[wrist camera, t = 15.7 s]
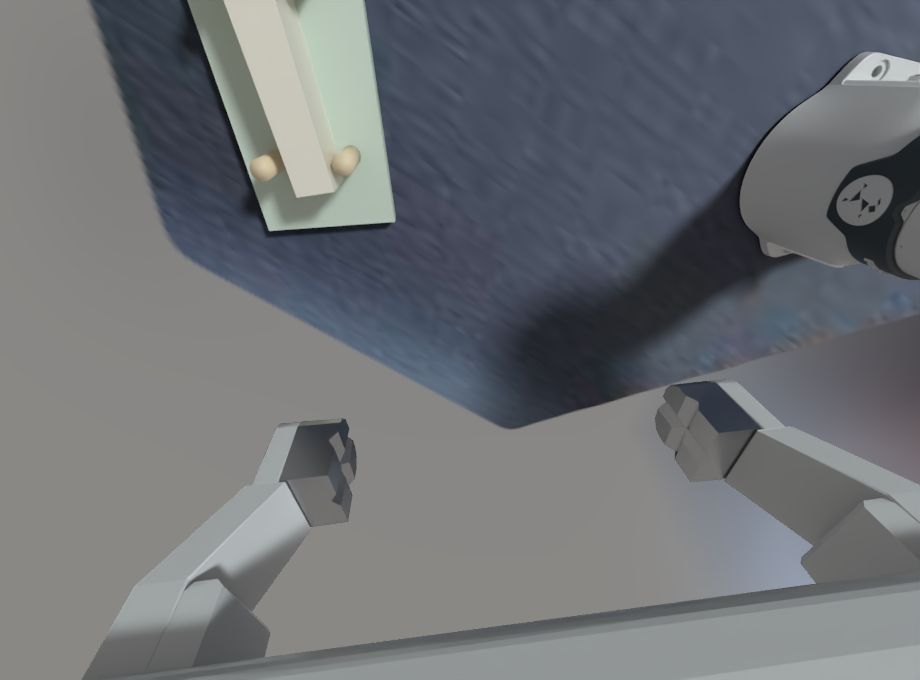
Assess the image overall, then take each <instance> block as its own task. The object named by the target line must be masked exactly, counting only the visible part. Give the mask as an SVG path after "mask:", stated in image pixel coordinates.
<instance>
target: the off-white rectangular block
mask: <svg viewBox="0 0 920 680" xmlns="http://www.w3.org/2000/svg"><path fill="white" fill-rule="evenodd" d="M224 3H225V6H226V8H227V11H228V14H229V16H230V19H231V22H232V25H233V27H234V30H235V33H236V35H237V38H238V41H239V43H240V46H241V49H242V52H243V54H244V57H245V60H246V62H247V65H248V68H249V70H250V73H251V76H252V78H253V81H254V84H255V87H256V89H257V92H258V95H259V97H260V100H261V103H262V105H263V108H264V111H265V114H266V116H267V119H268V122H269V124H270V127H271V130H272V132H273V135H274V138H275V140H276V143H277V146H278V149H279V151H280V154H281V157H282V159H283V162H284V165H285V167H286V170H287V173H288V176H289V178H290V181H291V184H292V186H293V189H294V192H295V194H296V197H297V198H298V197H305V196H312V195H318V194H325V193H332V192H335V191H336V189H337V188H338V187H339V185H340V184H341V183H342V181H343V180H344V179H345V177H344V176H340V175H338V174H337V173H336V172H335V171H334V169H333V166H332V161H333V158H334V157H335V156H336V155H337V154H338V153H337V149H336V146H335V143H334V139H333V136H332V132H331V129H330V125H329V122H328V118H327V115H326V111H325V108H324V104H323V101H322V97H321V94H320V90H319V87H318V83H317V80H316V76H315V73H314V69H313V66H312V62H311V59H310V55H309V52H308V48H307V45H306V41H305V38H304V34H303V31H302V27H301V24H300V20H299V17H298V14H297V10H296V7H295V3H294V0H224Z"/></svg>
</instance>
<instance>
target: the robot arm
mask: <svg viewBox="0 0 920 680" xmlns="http://www.w3.org/2000/svg"><path fill="white" fill-rule="evenodd" d="M873 70H874V71H873ZM740 211H741V215H742V218H743V220H744V222H745V224H746V225H747V226H748V227H749V228H750V229H751V230H752V231H753V232H754V233H755V234H756V235H757V236H758V237H759V241H760V246H761V250H762V252H763V253H764V254H765V255H767V256H770V257H779V256H783V255H787V254H791V253H795V254H798V255H801V256H803V257H806V258H809V259H812V260H814V261H817V262H820V263H823V264H826V265H828V266H831V267H836V268H842V267H843V266H847V265H854V264H857V263H860V262H861V263H863V264H866V265H868V266H870V267H871V268H873V269H875V270H877V271H880V272H882V273H885V274H889V275H895V276H898V277H900V278H904V279H908V280H920V63H918V62H914V61H910V60H906V59H903V58H899V57H895V56H891V55H887V54H883V53H877V52H863V53H861V54H859V55H858V56H856V57H855V58H854V59H852V60H851V61H850V62H849V63H848V64H847V65H846V66H845V67H844V68H843V69H842V70H841V71H840V72H839V74H838V75H837V76H836V77H835V78H834V79H833V80H832V81H831V82H830V83H829V85H827V86H826V87H825V88H824V89H822V90H821V91H820V92H818V93H817V94H815V95H814V96H812V97H811V98H809V99H808V100H806V101H805V102H803V103H802V104H800V105H799V106H798V107H796V108H795V109H794V110H793V111H791V112H790V113H789V114H788V115H787V116H786V117H785V118H784V119H783V120H782V121H781V122H780V123H779V124H778V125H777V126H776V127H775V128H774V129H773V130H772V131H771V132H770V134H769V135H768V136H767V137H766V139H765V140H764V141H763V143H762V144H761V146H760V147H759V149H758V150H757V152H756V153H755V155H754V157H753V159H752V160H751V162H750V164H749V167H748V169H747V171H746V174H745V176H744V179H743V183H742V187H741V192H740ZM663 397H664V399H665V401H666V402H665V404H663V405H662V406H661V407H660V408H659V409H658V411H657V414H656V417H655V422H656V429H657V432H658V434H659V436H660V438H661V440H662V441H663V442H664V444H665V445H667V446H668V447H670V448H672V449H673V450H675V460H676V462H677V463H678V465H679V466H680V467H681V469H682V470H683V472H684V473H685V475H686V476H687V478H688V479H689V480H690V482H698V481H709V480H721V479H725V482H726V483H728V484H729V485H731V486H732V487H734V488H735V489H736V490H737V491H739V492H740V493H742V494H743V495H744V496H746V497H747V498H748V499H750V500H751V501H753V502H754V503H755V504H757V505H758V506H760V507H761V508H762V509H764V510H765V511H767V512H768V513H769V514H771V515H772V516H773V517H775V518H776V519H777V520H779V521H780V522H782V523H783V524H784V525H786V526H787V527H788V528H790V529H791V530H793V531H794V532H795V533H797V534H798V535H800V536H801V537H802V538H804V539H805V540H806V541H808V542H809V543H810V544H812V545H813V547H812V548H811V549H810V550H809V551H808V552H807V553H806V554H804V555H803V556H802V558H801V564H802V566H803V567H804V569H805V570H806V571H807V572H808V574H809V575H810V576H811V577H812V579H813V580H814V581H815V583H816V584H810V585H803V586H795V587H788V588H781V589H773V590H765V591H758V592H751V593H743V594H736V595H729V596H721V597H714V598H705V599H698V600H691V601H683V602H676V603H669V604H661V605H654V606H646V607H639V608H631V609H624V610H616V611H608V612H601V613H593V614H586V615H578V616H571V617H563V618H556V619H549V620H541V621H533V622H526V623H519V624H511V625H503V626H496V627H488V628H481V629H473V630H466V631H458V632H451V633H444V634H436V635H428V636H422V637H414V638H406V639H398V640H391V641H384V642H376V643H369V644H361V645H354V646H346V647H339V648H331V649H324V650H316V651H309V652H301V653H294V654H287V655H279V656H271V657H265V653H266V648H267V644H268V641H269V637H270V632H269V630H268V628H267V626H266V625H265V624H264V623H263V622H262V621H261V620H260V619H258V618H257V616H255V615H254V614H253V613H252V611H253V609H254V608H255V606H256V605H257V604H258V602H259V601H260V600H261V598H262V597H263V595H264V594H265V592H266V591H267V590H268V589H269V587H270V586H271V584H272V583H273V582H274V580H275V579H276V577H277V576H278V575H279V573H280V572H281V570H282V569H283V567H284V566H285V565H286V564H287V562H288V561H289V559H290V558H291V556H292V555H293V554H294V553H295V551H296V550H297V548H298V547H299V546H300V544H301V543H302V541H303V540H304V539H305V537H306V535H308V533H309V532H310V530H311V528H310V527H314V526H321V525H329V524H335V523H342V522H348V517H349V512H350V506H351V499H352V493H351V491H350V488H349V484H350V483H351V482H352V481H353V480H354V479H355V474H356V450H355V445H354V442H353V440H351V439H350V438H348V432H349V427H348V424H347V422H346V420H345V419H330V420H317V421H304V422H296V423H283V424H280V425H279V426H278V427H277V428H276V429H275V431H274V433H273V436H272V438H271V441H270V443H269V446H268V448H267V450H266V453H265V455H264V458H263V460H262V462H261V465H260V467H259V470H258V472H257V475H256V477H255V480H254V482H253V484H252V485H247V486H245V487H244V488H242V489H241V490H240V491H239V492H238V493H237V494H236V495H235V496H234V497H232V498H231V499H230V500H229V501H228V502H227V503H226V504H225V505H224V506H223V507H222V508H221V509H219V510H218V511H217V512H216V513H215V514H214V515H213V516H212V517H210V518H209V519H208V520H207V521H206V522H205V523H204V524H203V525H202V526H200V527H199V528H198V529H197V530H196V531H195V532H194V533H193V534H192V535H191V536H190V537H188V538H187V539H186V540H185V541H184V542H183V543H182V544H181V545H180V546H178V547H177V548H176V549H175V550H174V551H173V552H172V553H171V554H170V555H169V556H167V557H166V558H165V559H164V560H163V561H162V562H161V563H160V564H159V565H157V566H156V567H155V568H154V569H153V570H152V571H151V572H150V573H149V574H148V575H146V576H145V577H144V578H143V579H142V580H141V581H140V582H139V583H138V584H137V585H135V586H134V588H133V590H132V591H131V593H130V595H129V597H128V599H127V600H126V602H125V604H124V606H123V607H122V609H121V611H120V613H119V615H118V617H117V618H116V620H115V622H114V623H113V625H112V627H111V629H110V631H109V633H108V634H107V636H106V638H105V640H104V641H103V643H102V645H101V647H100V648H99V650H98V652H97V653H96V655H95V657H94V659H93V661H92V662H91V664H90V666H89V668H88V669H87V671H86V673H85V675H84V677H83V678H82V680H920V485H918V484H916V483H914V482H912V481H909V480H907V479H905V478H903V477H901V476H899V475H896V474H894V473H892V472H890V471H888V470H885V469H883V468H881V467H879V466H877V465H874V464H872V463H870V462H868V461H866V460H864V459H861V458H859V457H857V456H855V455H853V454H851V453H848V452H846V451H844V450H842V449H840V448H837V447H835V446H833V445H831V444H829V443H826V442H824V441H822V440H820V439H818V438H816V437H813V436H811V435H809V434H807V433H805V432H802V431H800V430H798V429H796V428H794V427H792V426H791V427H785V426H784V425H783V424H781V423H780V422H779V421H778V420H777V419H776V418H775V417H774V416H773V415H772V414H771V413H770V412H768V411H767V410H766V409H765V408H764V407H763V406H762V405H761V404H760V403H759V402H758V401H757V400H756V399H755V398H754V397H753V396H751V395H750V394H749V393H748V392H747V391H746V390H745V389H744V388H743V387H742V386H741V385H740V384H739V383H737V382H736V381H734V380H731V379H723V380H713V381H703V382H694V383H686V384H676V385H670V386H669V387H668V388H667V389H666V390H665V393H664V395H663Z"/></svg>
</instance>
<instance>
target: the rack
mask: <svg viewBox="0 0 920 680" xmlns="http://www.w3.org/2000/svg"><path fill="white" fill-rule="evenodd" d="M187 1H188V4H189V7H190V9H191V12H192V15H193V18H194V21H195V24H196V26H197V29H198V32H199V35H200V38H201V40H202V43H203V46H204V49H205V52H206V55H207V57H208V60H209V63H210V66H211V69H212V71H213V74H214V77H215V80H216V83H217V86H218V88H219V91H220V94H221V97H222V100H223V103H224V105H225V108H226V111H227V114H228V117H229V119H230V122H231V125H232V128H233V131H234V134H235V136H236V139H237V142H238V145H239V148H240V150H241V153H242V156H243V159H244V162H245V165H246V167H247V170H248V173H249V176H250V179H251V181H252V184H253V187H254V190H255V193H256V196H257V198H258V201H259V204H260V207H261V210H262V212H263V215H264V218H265V221H266V224H267V227H268V229H269V231H276V230H290V229H304V228H318V227H332V226H346V225H360V224H374V223H387V222H395V219H396V215H395V208H394V201H393V194H392V188H391V181H390V174H389V167H388V160H387V153H386V146H385V139H384V132H383V125H382V118H381V111H380V104H379V98H378V91H377V84H376V77H375V70H374V63H373V56H372V49H371V42H370V35H369V28H368V21H367V14H366V7H365V1H364V0H294V3H295V7H296V10H297V14H298V17H299V20H300V24H301V27H302V31H303V34H304V38H305V41H306V45H307V48H308V52H309V55H310V59H311V62H312V66H313V69H314V73H315V76H316V80H317V83H318V87H319V90H320V94H321V97H322V101H323V104H324V108H325V111H326V115H327V118H328V122H329V125H330V129H331V132H332V136H333V139H334V143H335V146H336V149H337V153H338V154H337V155H336V156H335V157H334V158H333V161H332V166H333V169H334V171H335V172H336V173H337V174H338V175H340V176H344V177H345V179H344V180H343V181H342V183H341V184H340V185H339V187H338V188H337V189H336V191H335V192H332V193H325V194H318V195H312V196H305V197H298V198H297V197H296V194H295V192H294V189H293V186H292V184H291V181H290V178H289V176H288V173H287V170H286V167H285V165H284V162H283V159H282V157H281V154H280V151H279V149H278V146H277V143H276V140H275V138H274V135H273V132H272V130H271V127H270V124H269V122H268V119H267V116H266V114H265V111H264V108H263V105H262V103H261V100H260V97H259V95H258V92H257V89H256V87H255V84H254V81H253V78H252V76H251V73H250V70H249V68H248V65H247V62H246V60H245V57H244V54H243V52H242V49H241V46H240V43H239V41H238V38H237V35H236V33H235V30H234V27H233V25H232V22H231V19H230V16H229V14H228V11H227V8H226V6H225V3H224V0H187Z"/></svg>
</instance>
